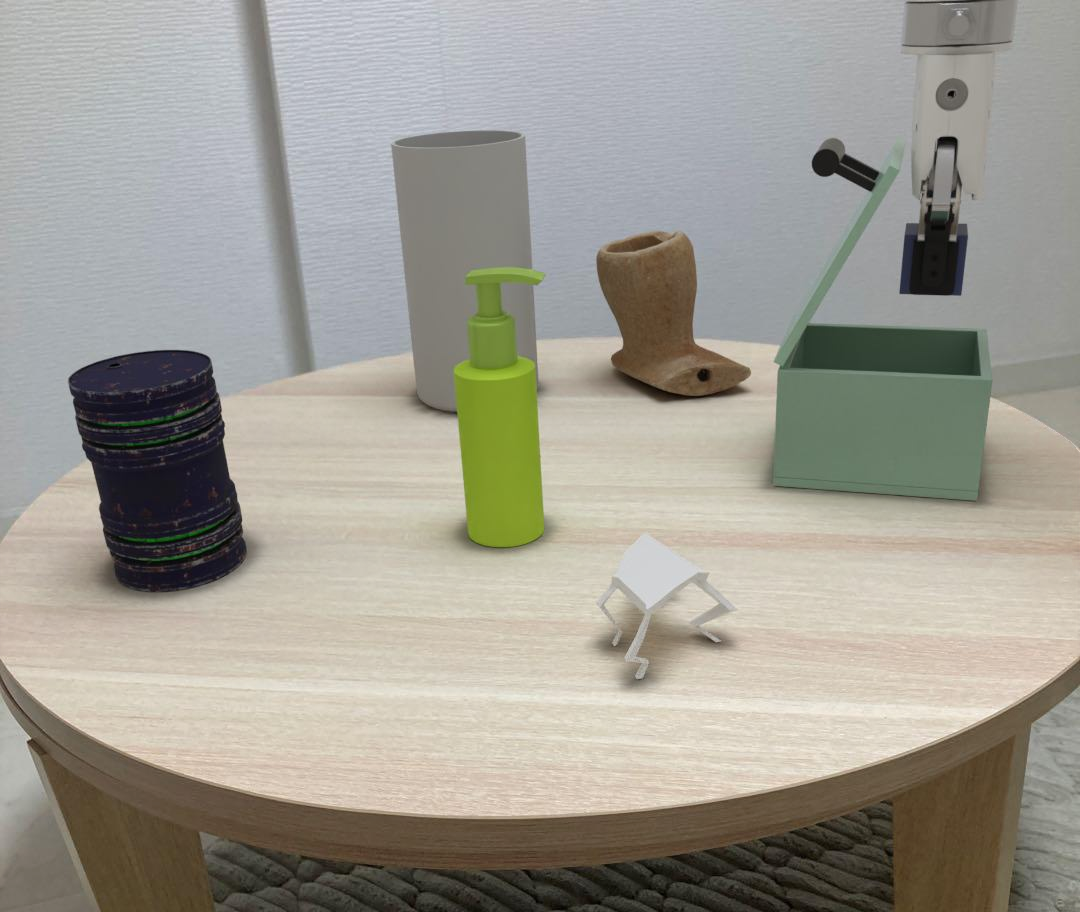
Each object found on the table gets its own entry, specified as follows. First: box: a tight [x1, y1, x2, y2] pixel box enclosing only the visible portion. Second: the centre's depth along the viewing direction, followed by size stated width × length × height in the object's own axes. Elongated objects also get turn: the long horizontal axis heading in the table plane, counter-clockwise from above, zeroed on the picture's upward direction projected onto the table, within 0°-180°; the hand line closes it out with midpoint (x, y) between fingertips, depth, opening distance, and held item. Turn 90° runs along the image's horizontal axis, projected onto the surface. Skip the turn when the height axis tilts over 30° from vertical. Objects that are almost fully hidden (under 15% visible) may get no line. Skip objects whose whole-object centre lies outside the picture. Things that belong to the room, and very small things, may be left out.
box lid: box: [773, 137, 906, 367], centre depth 90 cm, size 16×14×6 cm
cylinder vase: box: [390, 129, 540, 413], centre depth 112 cm, size 12×12×25 cm
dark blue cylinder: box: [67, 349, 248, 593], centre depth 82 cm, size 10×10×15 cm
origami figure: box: [596, 531, 739, 680], centre depth 72 cm, size 12×8×5 cm
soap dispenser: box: [454, 267, 547, 548], centre depth 83 cm, size 6×7×20 cm
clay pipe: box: [595, 230, 752, 397], centre depth 114 cm, size 15×12×15 cm
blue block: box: [898, 222, 969, 297], centre depth 88 cm, size 4×4×4 cm
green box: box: [772, 322, 993, 502], centre depth 94 cm, size 16×14×10 cm
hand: (931, 283), depth 88 cm, fingers closed on blue block, 4 cm apart
